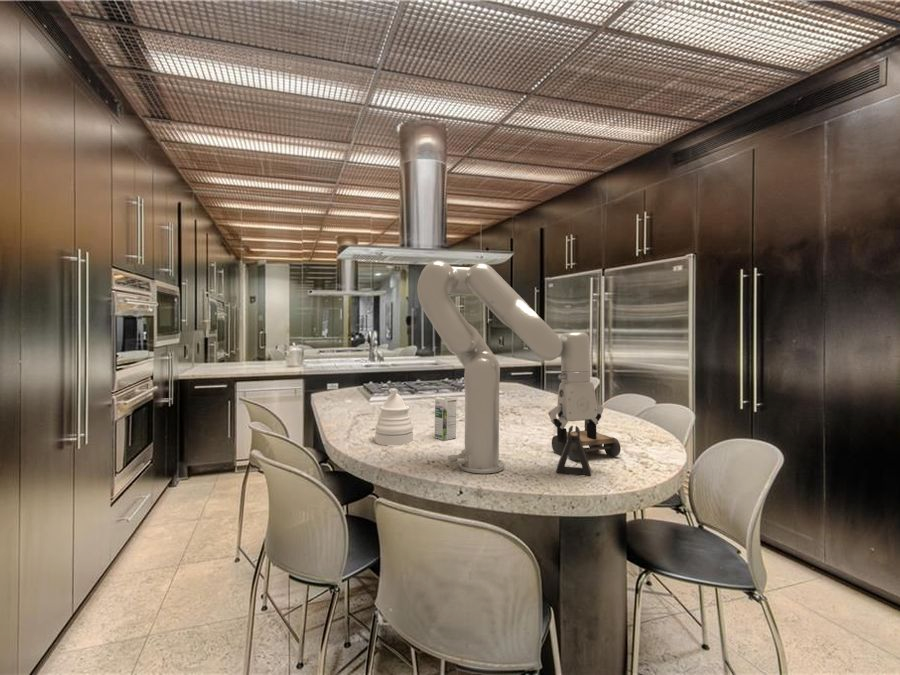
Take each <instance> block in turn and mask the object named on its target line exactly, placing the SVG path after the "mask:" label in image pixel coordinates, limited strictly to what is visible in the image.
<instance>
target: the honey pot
mask: <svg viewBox="0 0 900 675" xmlns="http://www.w3.org/2000/svg"><path fill="white" fill-rule="evenodd" d="M389 391H390V394H389V396H388V397H386V399H385V401H384V403H383V405H381V406H380V407H379V408H380V414H379V415H378V419H377V423H376V425H375V440H374V441H375V444H377V443H378V445H380V444H382V445H381V446H386V445H399V446H404V445H403V444H406V445H408V444H407V443H410V442H412V441H413V442H414V426H413V425H414V424H413V423H412V420H411V419H412V418H411V416H410V414H409V412H408V411H409V410H410V406H409V405H406V403H405V401H404V400H403V398H402V396H401V395H400V394H399V393H398V389H397V388H395V389H394V388H392V389H391V388H390V389H389ZM413 442H412V443H413ZM410 444H411V443H410Z"/></svg>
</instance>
